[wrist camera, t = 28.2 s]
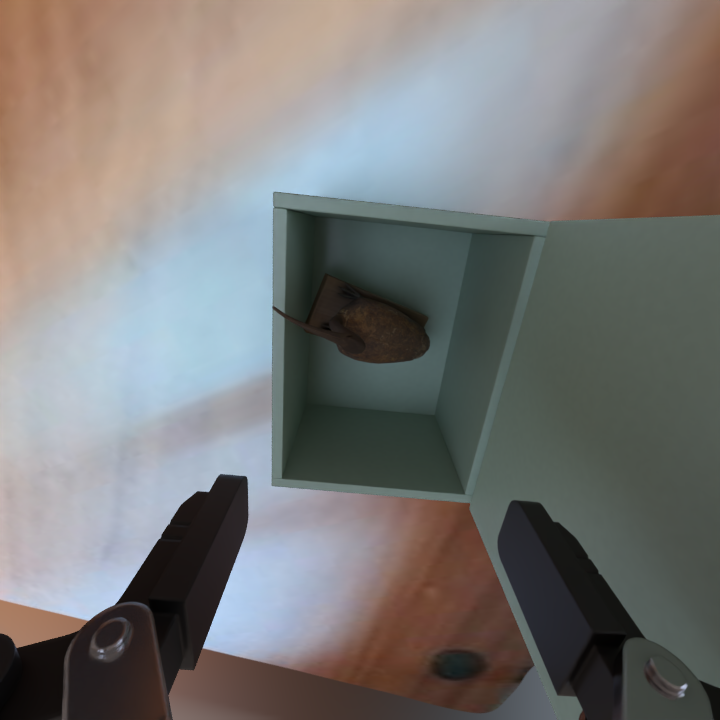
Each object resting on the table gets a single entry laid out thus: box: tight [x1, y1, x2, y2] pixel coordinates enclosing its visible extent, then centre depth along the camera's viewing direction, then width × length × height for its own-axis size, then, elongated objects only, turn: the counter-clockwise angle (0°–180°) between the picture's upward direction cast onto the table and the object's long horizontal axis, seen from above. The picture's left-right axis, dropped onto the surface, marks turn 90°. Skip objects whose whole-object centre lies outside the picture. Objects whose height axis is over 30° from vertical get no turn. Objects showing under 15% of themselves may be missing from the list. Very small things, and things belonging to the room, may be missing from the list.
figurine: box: [273, 273, 430, 364], centre depth 22 cm, size 14×4×9 cm, turn 64°
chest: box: [272, 192, 550, 503], centre depth 25 cm, size 14×18×11 cm
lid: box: [469, 215, 720, 720], centre depth 13 cm, size 15×18×6 cm
